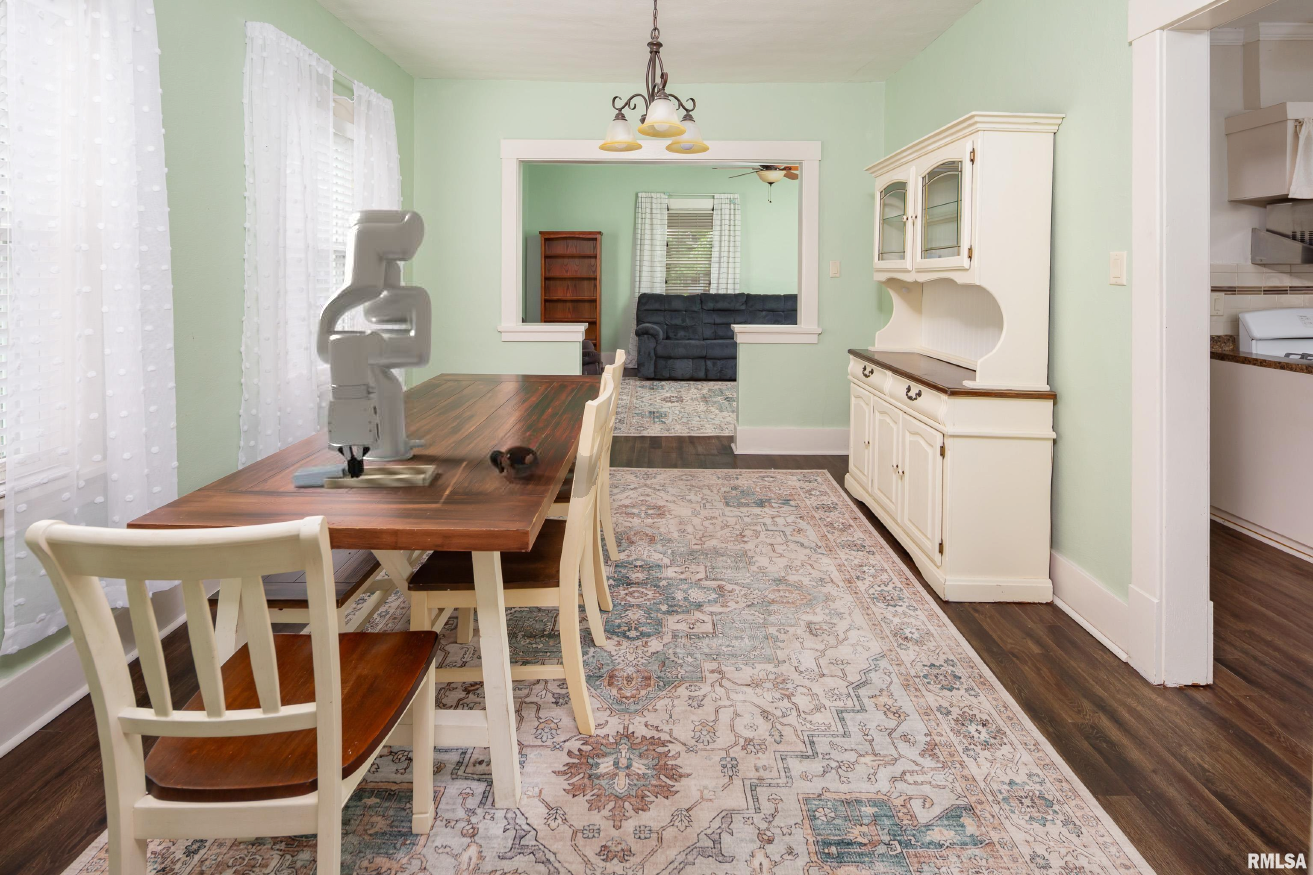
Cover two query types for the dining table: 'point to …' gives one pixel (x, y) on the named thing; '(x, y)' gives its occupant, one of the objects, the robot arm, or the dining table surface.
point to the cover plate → (319, 474)
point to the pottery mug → (514, 462)
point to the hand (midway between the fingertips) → (356, 476)
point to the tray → (387, 477)
